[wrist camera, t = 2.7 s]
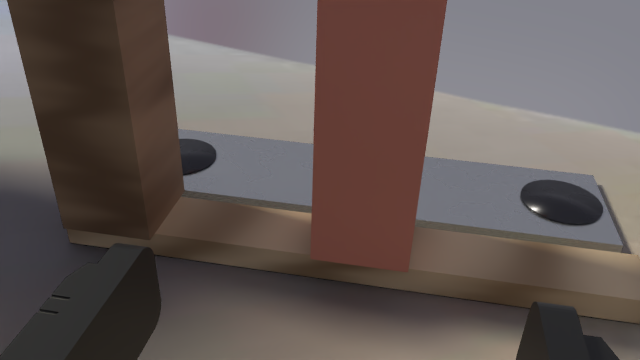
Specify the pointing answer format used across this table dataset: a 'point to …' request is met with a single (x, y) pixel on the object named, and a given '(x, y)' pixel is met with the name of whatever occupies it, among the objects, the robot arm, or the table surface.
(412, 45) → the sliding leg
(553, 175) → the flange plate
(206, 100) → the table surface
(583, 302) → the rail
